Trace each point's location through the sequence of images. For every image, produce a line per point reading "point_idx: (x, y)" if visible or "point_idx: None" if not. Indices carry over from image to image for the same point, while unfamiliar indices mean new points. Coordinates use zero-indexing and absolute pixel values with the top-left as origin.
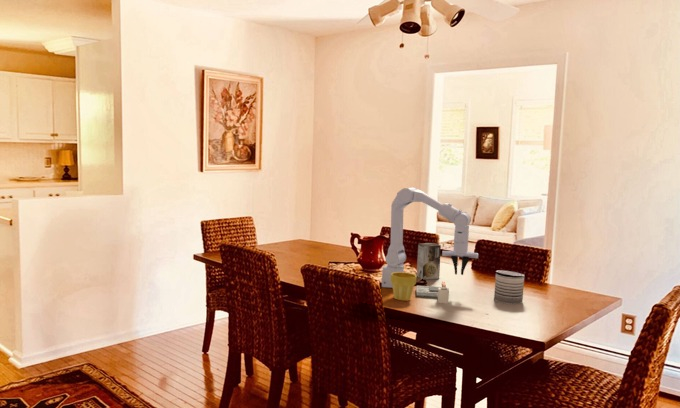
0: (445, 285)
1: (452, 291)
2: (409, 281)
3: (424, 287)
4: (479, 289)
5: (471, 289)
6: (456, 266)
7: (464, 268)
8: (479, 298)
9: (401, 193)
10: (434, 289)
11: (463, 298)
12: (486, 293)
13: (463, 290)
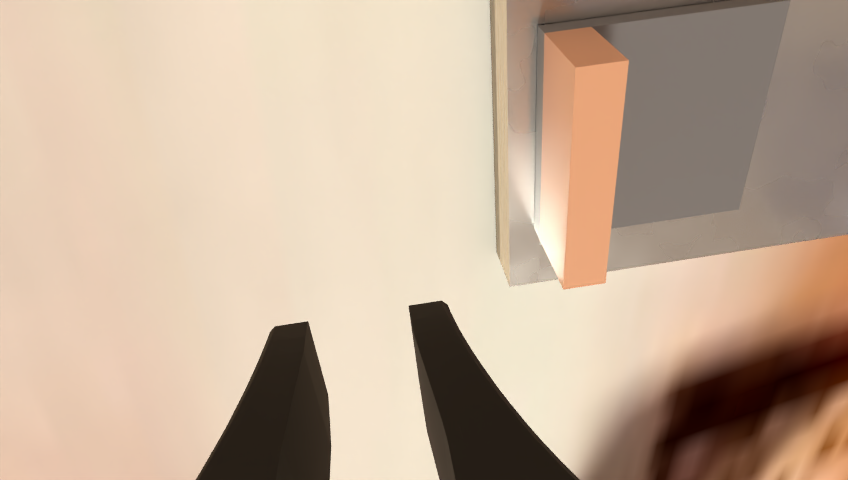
0: (579, 65)
1: None
2: None
3: (789, 182)
4: (159, 469)
5: None
6: (465, 443)
7: (218, 449)
8: (44, 150)
9: None
10: (705, 61)
11: (255, 57)
12: (44, 382)
13: None
